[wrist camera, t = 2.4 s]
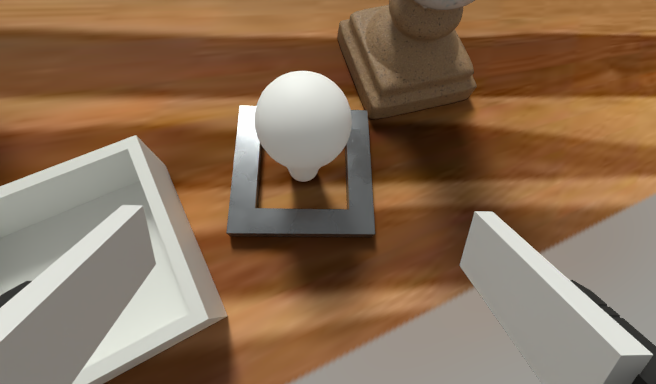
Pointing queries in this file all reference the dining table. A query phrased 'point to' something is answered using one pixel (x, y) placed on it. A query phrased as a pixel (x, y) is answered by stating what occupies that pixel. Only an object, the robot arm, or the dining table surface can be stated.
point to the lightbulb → (303, 122)
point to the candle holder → (407, 56)
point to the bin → (86, 214)
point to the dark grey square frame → (300, 221)
